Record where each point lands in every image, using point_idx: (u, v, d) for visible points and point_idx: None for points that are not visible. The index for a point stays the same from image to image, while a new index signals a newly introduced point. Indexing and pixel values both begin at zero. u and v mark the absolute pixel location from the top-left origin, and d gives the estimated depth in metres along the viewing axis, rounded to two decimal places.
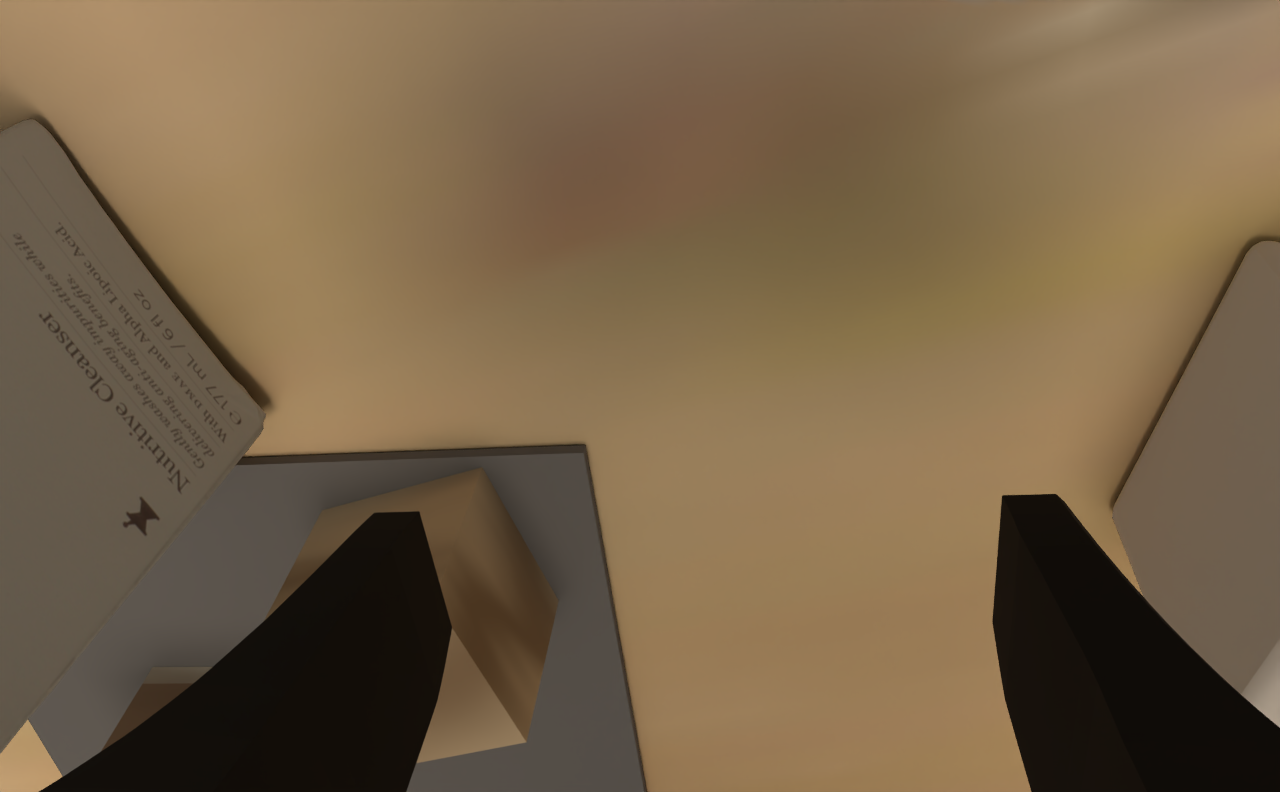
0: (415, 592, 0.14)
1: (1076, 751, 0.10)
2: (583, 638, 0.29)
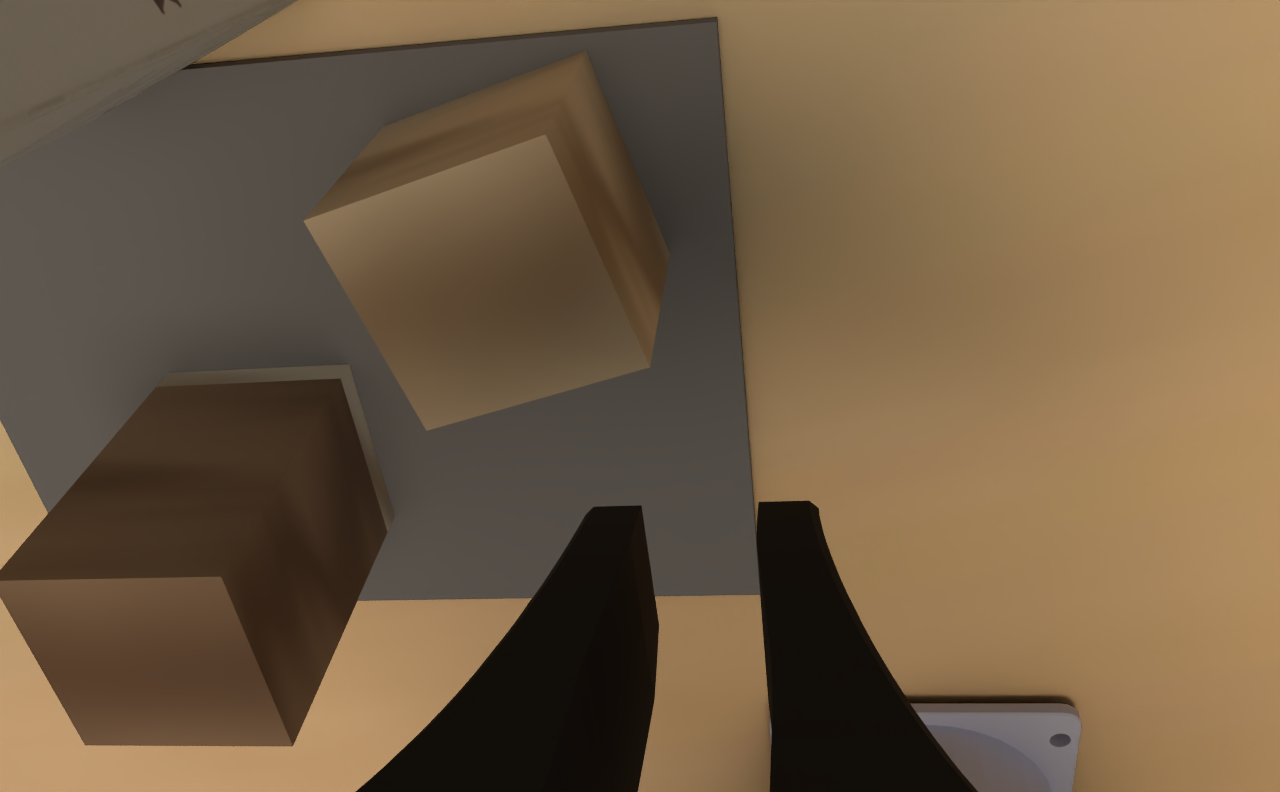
0: (641, 588, 0.13)
1: None
2: (697, 309, 0.23)
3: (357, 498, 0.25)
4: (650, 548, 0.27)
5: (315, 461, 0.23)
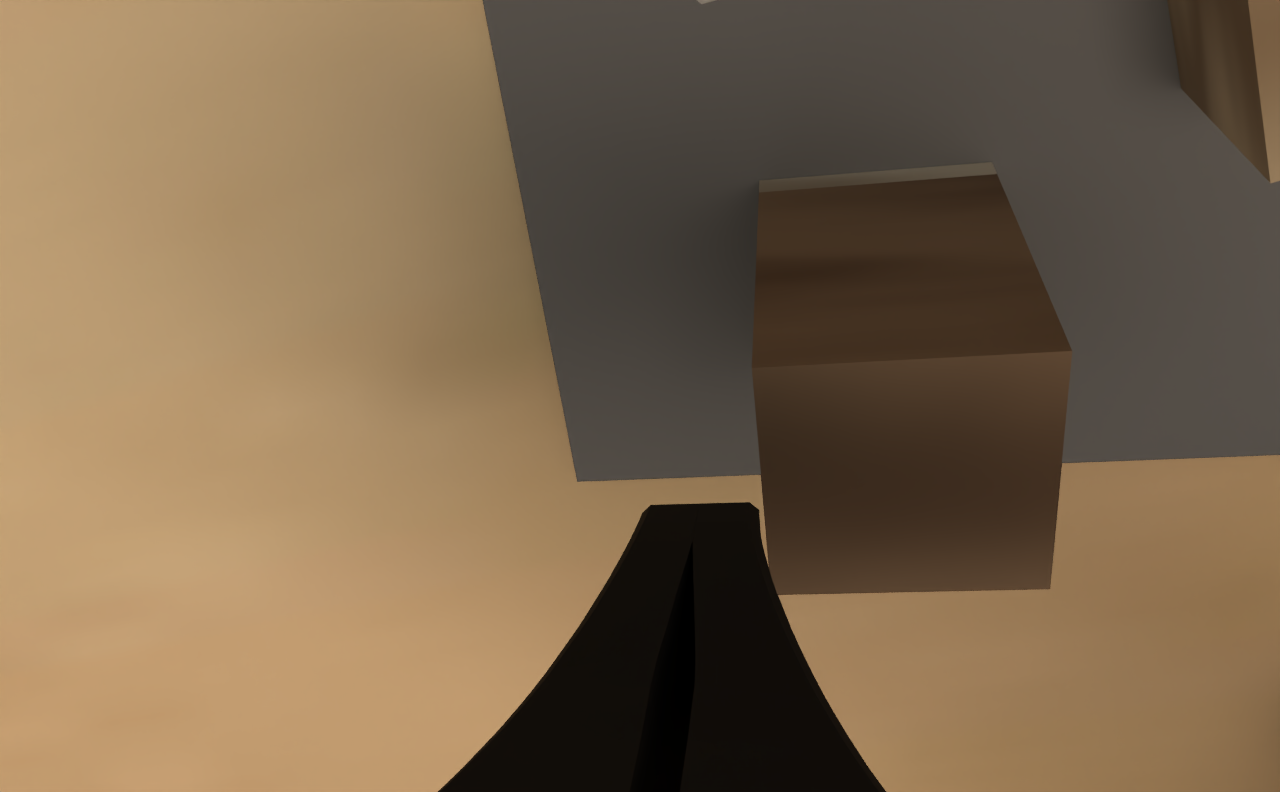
0: None
1: None
2: None
3: None
4: None
5: None
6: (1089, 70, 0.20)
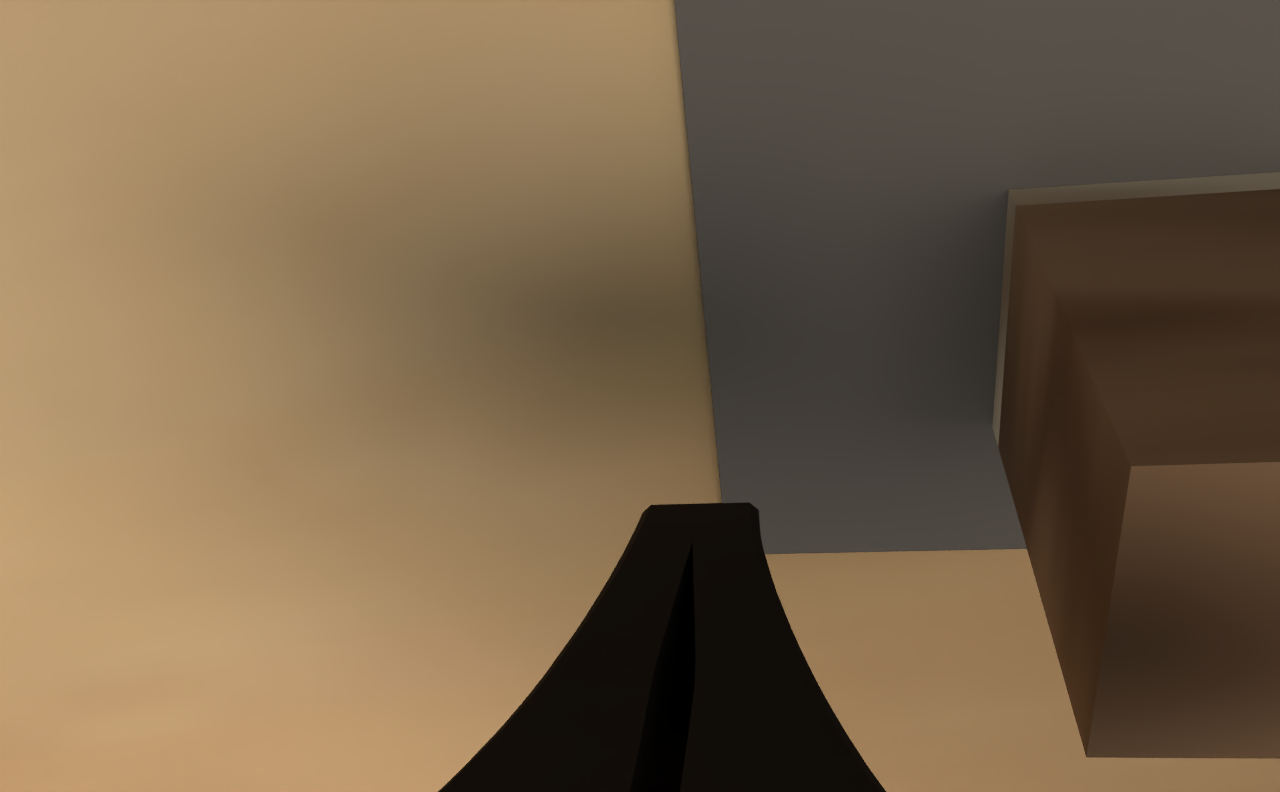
0: None
1: None
2: None
3: None
4: None
5: None
6: None
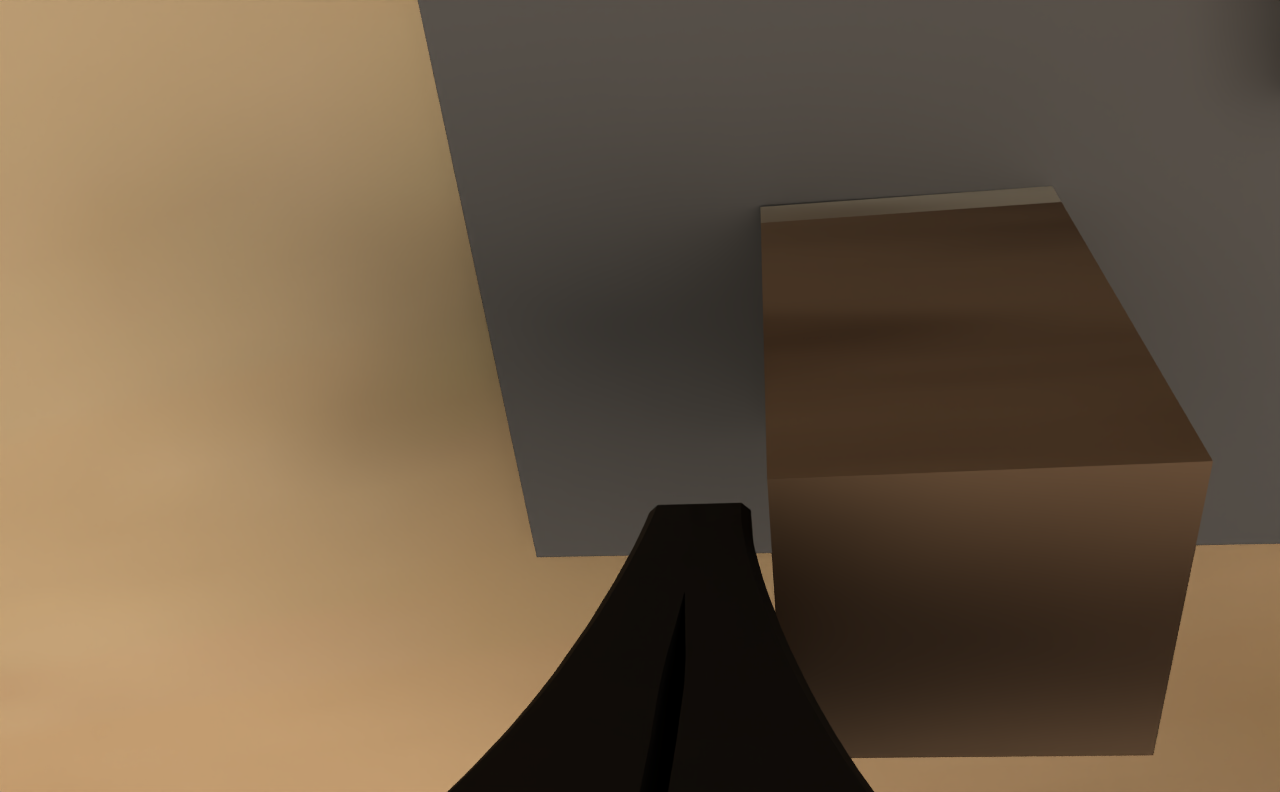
0: None
1: None
2: None
3: None
4: None
5: None
6: (1181, 73, 0.16)
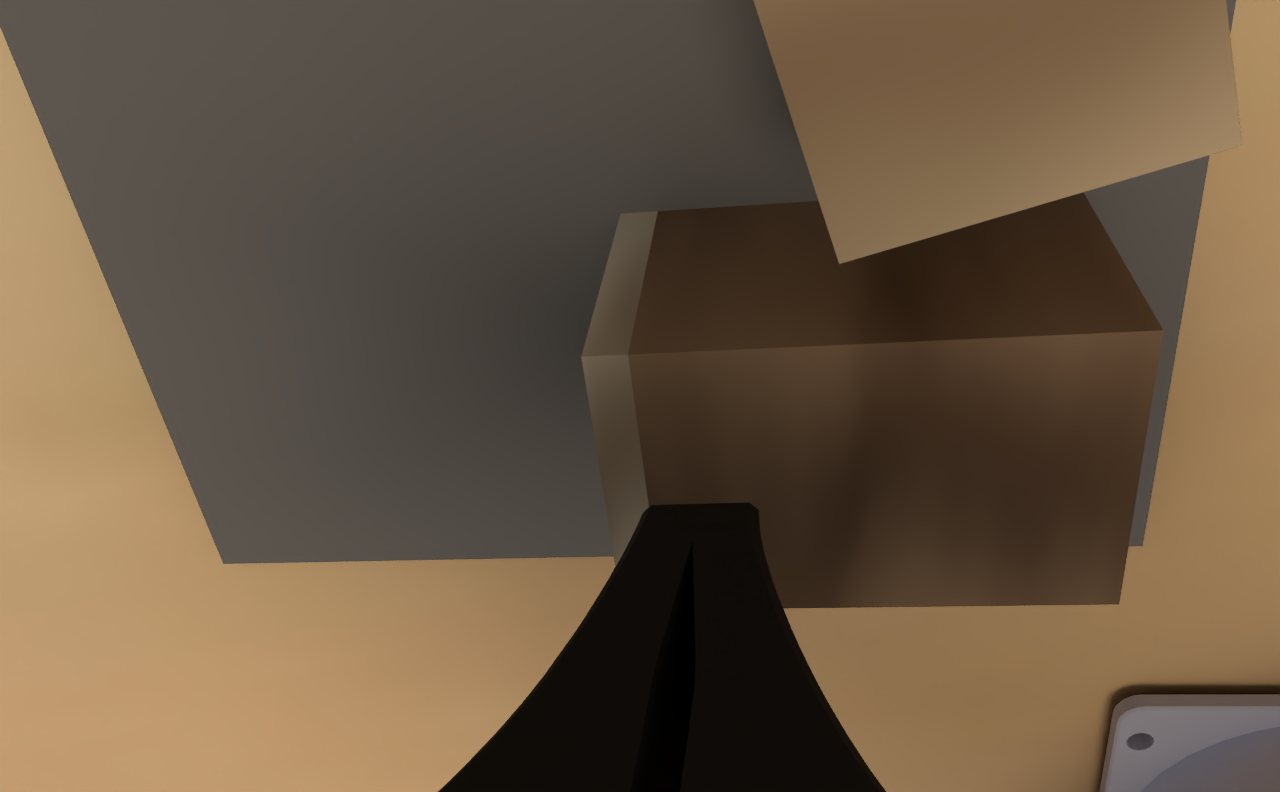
0: None
1: None
2: None
3: None
4: None
5: None
6: (714, 108, 0.17)
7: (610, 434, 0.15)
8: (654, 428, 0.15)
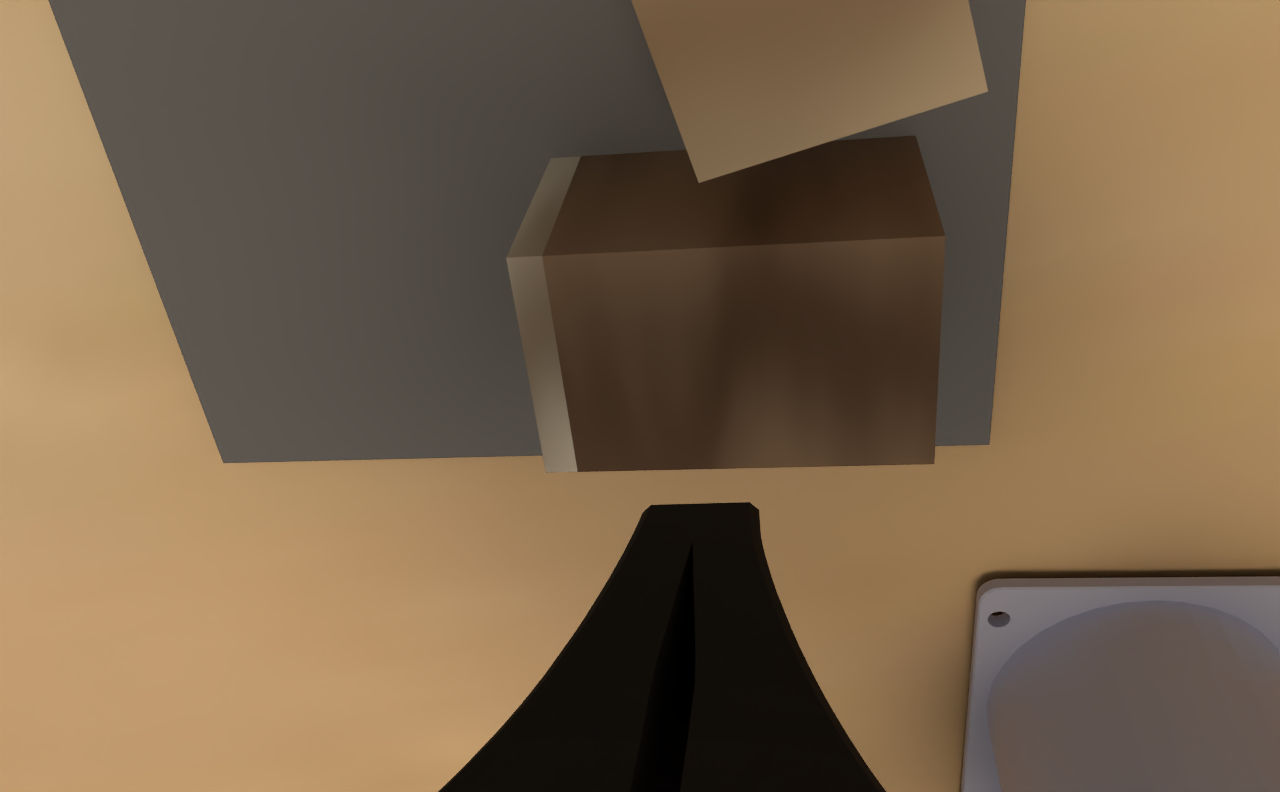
0: None
1: None
2: None
3: None
4: None
5: None
6: (623, 72, 0.21)
7: (530, 322, 0.19)
8: (564, 317, 0.19)
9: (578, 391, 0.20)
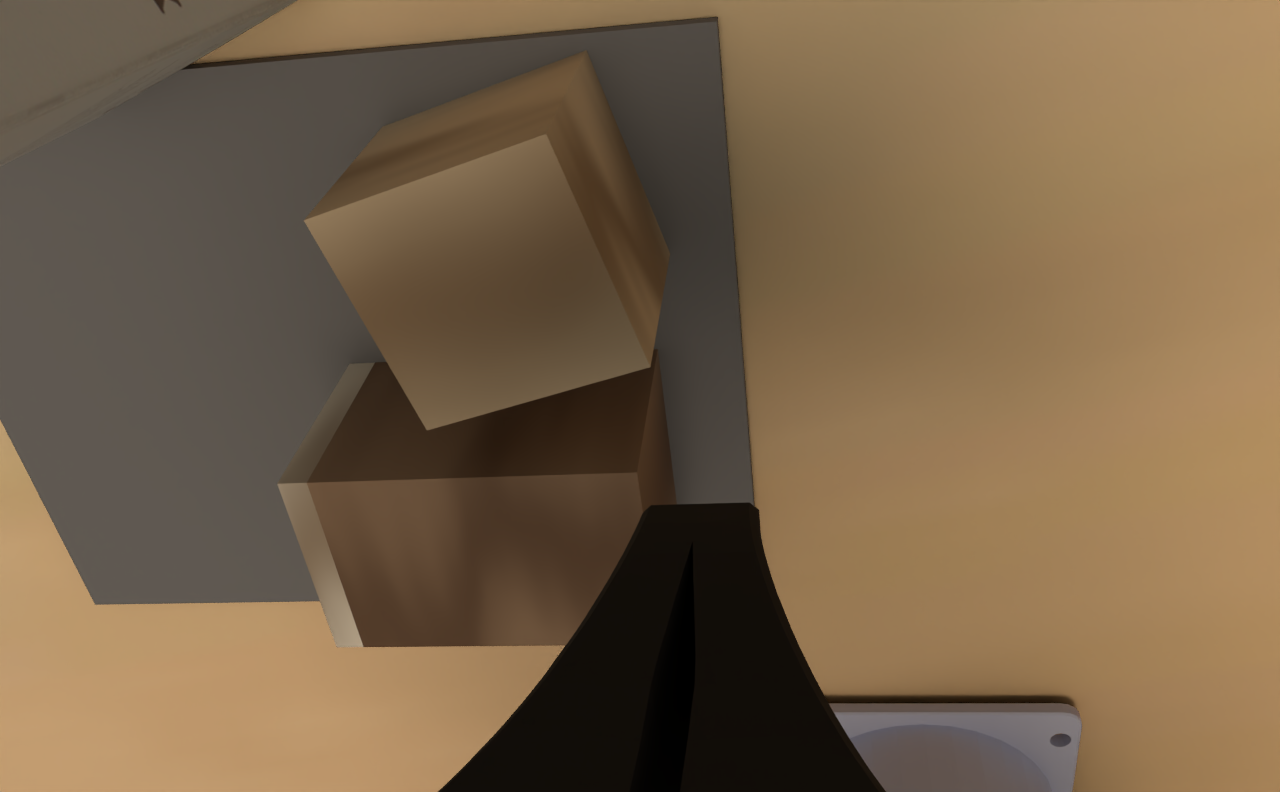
0: None
1: None
2: (698, 308, 0.23)
3: None
4: None
5: None
6: None
7: (305, 532, 0.22)
8: (333, 528, 0.22)
9: (354, 585, 0.23)
